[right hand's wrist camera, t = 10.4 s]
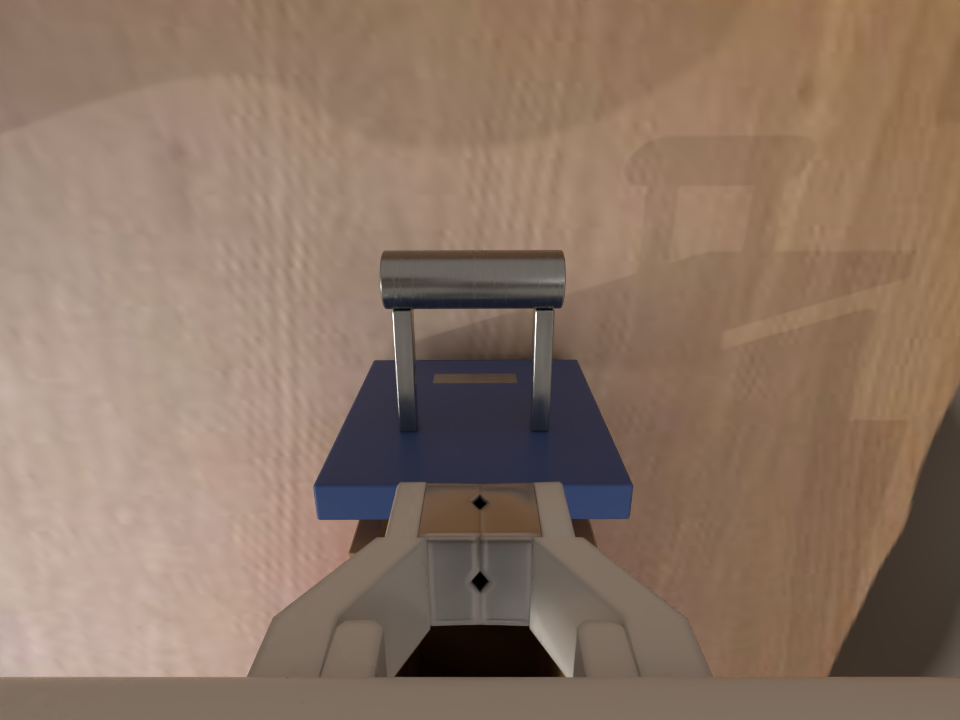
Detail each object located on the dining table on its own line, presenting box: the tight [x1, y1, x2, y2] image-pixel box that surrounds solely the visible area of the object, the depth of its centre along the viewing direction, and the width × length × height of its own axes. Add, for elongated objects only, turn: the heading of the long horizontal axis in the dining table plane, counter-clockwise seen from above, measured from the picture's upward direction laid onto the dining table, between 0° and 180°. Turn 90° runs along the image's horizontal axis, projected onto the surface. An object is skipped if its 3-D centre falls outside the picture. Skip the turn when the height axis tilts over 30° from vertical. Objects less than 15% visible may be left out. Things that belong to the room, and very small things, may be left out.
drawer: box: [313, 250, 633, 677], centre depth 23 cm, size 26×9×10 cm, turn 0°
